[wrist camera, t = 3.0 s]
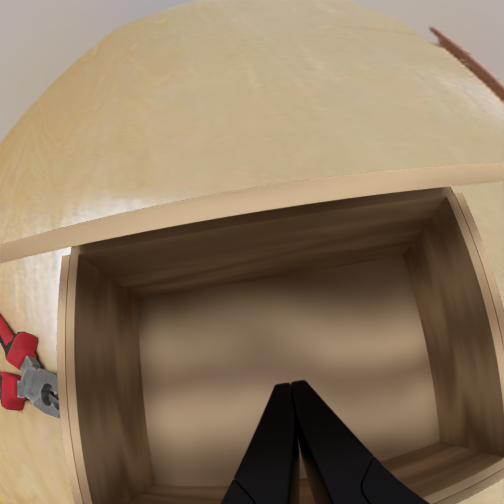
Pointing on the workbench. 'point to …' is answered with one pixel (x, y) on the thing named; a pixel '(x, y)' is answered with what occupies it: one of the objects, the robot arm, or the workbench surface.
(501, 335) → the carton
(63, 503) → the workbench surface
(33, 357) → the pliers
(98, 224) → the far flap
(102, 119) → the workbench surface
